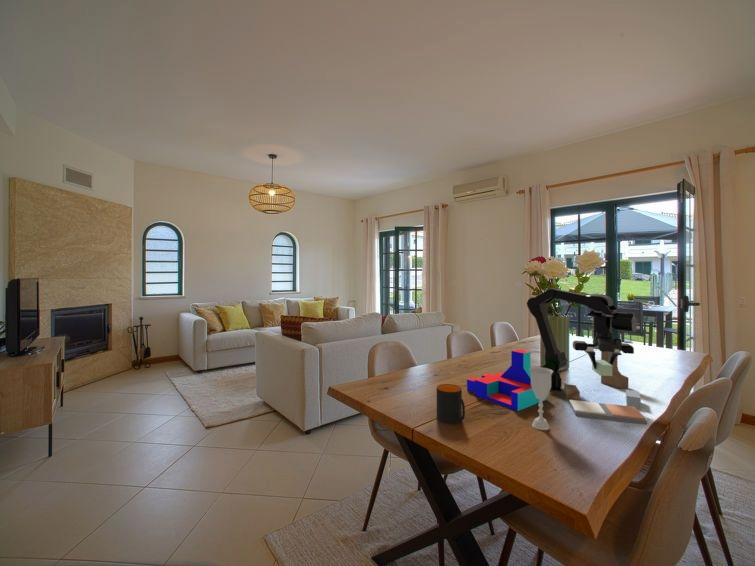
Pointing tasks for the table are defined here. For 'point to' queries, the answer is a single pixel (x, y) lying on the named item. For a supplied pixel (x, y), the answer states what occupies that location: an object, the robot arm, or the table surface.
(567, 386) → the walnut brick
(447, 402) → the mug
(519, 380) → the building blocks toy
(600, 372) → the sage brick
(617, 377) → the wooden block
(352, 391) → the table surface
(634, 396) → the slate brick
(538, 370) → the chalice
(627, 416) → the tile board
